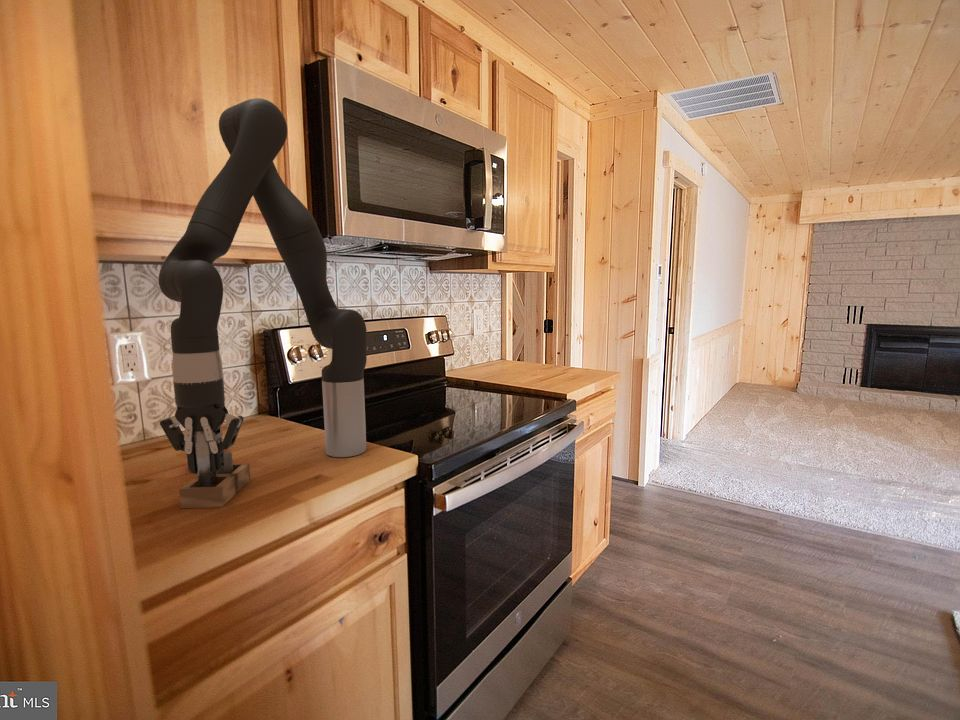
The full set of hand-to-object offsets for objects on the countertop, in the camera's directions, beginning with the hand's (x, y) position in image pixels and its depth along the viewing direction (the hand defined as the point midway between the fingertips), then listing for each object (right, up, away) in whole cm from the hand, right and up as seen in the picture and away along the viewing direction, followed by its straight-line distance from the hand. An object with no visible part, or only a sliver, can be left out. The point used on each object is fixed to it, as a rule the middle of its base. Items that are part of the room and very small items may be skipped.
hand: (206, 471), depth 86 cm
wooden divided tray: (0, -5, +4) cm, 6 cm away
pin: (0, -2, 0) cm, 2 cm away
